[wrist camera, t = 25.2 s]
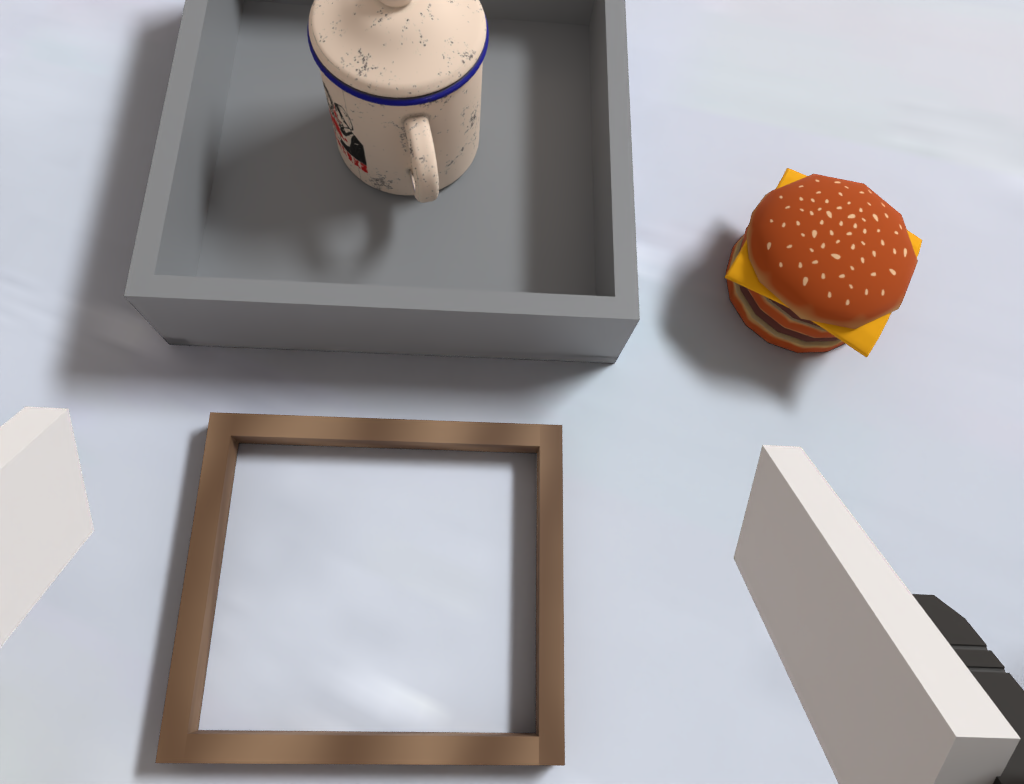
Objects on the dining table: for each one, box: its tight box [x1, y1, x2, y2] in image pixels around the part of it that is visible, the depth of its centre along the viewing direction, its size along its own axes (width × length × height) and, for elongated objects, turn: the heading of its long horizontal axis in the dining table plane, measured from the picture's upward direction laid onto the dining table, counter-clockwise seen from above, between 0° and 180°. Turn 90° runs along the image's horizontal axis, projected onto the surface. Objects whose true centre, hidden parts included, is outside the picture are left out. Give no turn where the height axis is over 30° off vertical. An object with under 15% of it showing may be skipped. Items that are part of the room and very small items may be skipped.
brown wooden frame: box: [155, 412, 565, 765], centre depth 37 cm, size 18×16×2 cm
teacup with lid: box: [307, 0, 489, 203], centre depth 39 cm, size 12×9×12 cm
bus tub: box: [124, 0, 640, 363], centre depth 43 cm, size 25×25×6 cm
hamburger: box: [724, 168, 922, 357], centre depth 42 cm, size 9×10×7 cm
